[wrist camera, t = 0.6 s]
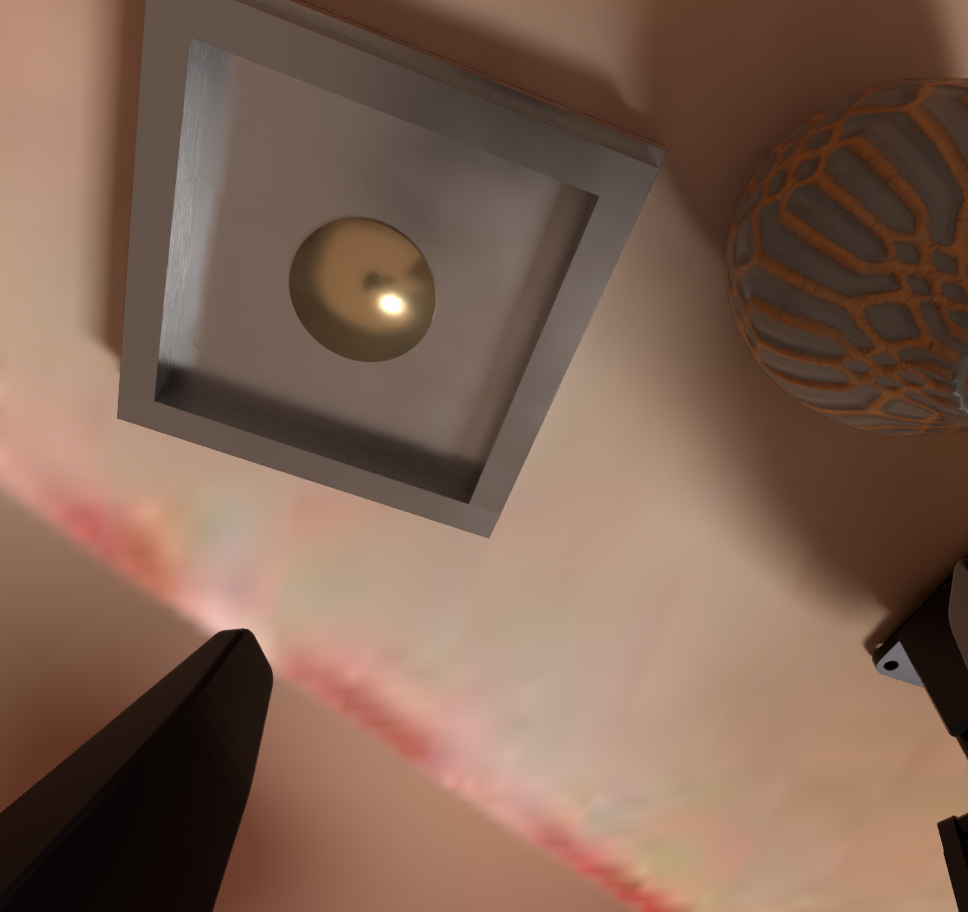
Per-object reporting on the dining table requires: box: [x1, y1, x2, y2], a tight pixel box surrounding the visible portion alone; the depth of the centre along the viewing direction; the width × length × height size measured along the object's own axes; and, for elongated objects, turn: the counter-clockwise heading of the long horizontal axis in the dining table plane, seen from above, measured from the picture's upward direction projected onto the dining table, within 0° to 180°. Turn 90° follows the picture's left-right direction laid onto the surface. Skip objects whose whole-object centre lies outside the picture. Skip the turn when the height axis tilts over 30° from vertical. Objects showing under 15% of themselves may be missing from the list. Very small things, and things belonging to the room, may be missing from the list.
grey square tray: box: [117, 0, 667, 538], centre depth 19 cm, size 12×12×2 cm
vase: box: [725, 77, 968, 437], centre depth 15 cm, size 7×7×9 cm
